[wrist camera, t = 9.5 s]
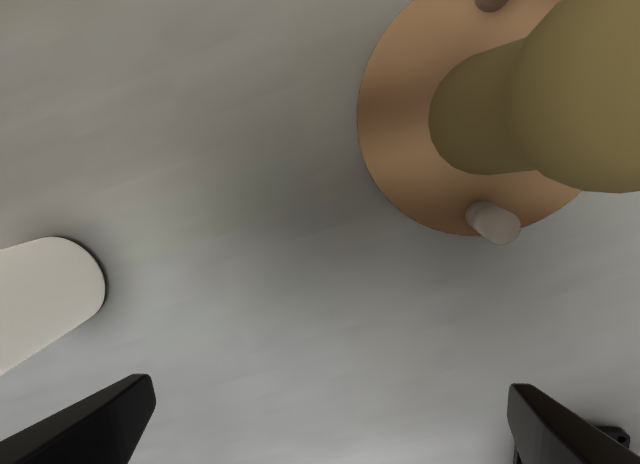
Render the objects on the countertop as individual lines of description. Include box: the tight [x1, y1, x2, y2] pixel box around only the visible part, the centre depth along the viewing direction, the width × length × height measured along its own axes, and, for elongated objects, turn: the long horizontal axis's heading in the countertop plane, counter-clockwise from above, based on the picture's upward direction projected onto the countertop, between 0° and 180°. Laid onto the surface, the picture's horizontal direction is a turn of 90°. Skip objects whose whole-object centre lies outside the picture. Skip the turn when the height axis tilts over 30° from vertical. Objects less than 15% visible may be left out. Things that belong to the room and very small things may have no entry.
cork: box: [428, 0, 640, 193], centre depth 12 cm, size 6×6×11 cm
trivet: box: [357, 0, 582, 245], centre depth 16 cm, size 13×13×4 cm
